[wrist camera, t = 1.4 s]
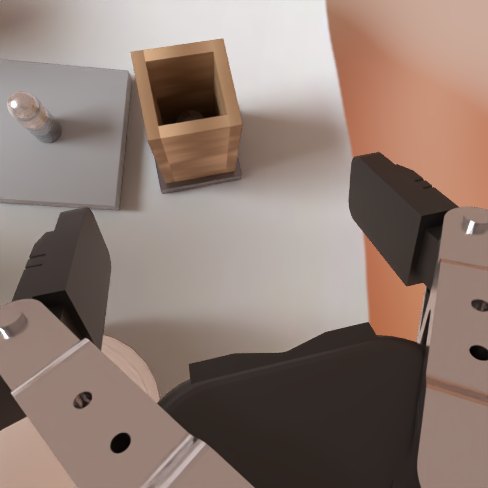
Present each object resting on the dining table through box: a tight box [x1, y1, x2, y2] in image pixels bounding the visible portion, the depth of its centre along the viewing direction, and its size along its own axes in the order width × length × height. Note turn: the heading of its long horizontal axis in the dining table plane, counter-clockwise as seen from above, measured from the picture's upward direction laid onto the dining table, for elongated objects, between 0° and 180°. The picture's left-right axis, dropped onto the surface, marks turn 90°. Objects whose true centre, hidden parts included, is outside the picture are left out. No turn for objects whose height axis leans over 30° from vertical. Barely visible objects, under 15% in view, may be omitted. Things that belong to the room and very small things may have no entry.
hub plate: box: [0, 59, 132, 210], centre depth 30 cm, size 12×12×7 cm
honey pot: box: [0, 335, 160, 488], centre depth 22 cm, size 13×13×18 cm
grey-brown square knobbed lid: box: [155, 110, 242, 194], centre depth 32 cm, size 7×7×5 cm
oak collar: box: [131, 39, 243, 184], centre depth 29 cm, size 6×6×9 cm
